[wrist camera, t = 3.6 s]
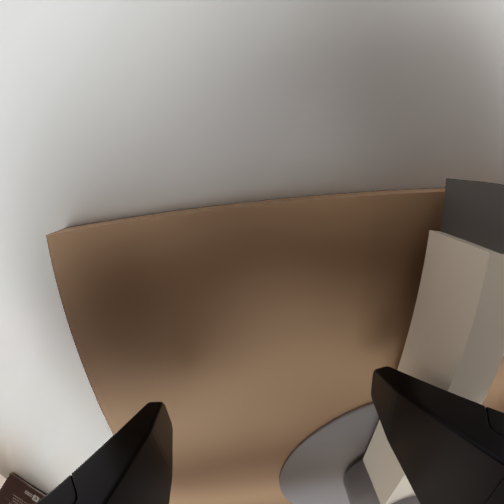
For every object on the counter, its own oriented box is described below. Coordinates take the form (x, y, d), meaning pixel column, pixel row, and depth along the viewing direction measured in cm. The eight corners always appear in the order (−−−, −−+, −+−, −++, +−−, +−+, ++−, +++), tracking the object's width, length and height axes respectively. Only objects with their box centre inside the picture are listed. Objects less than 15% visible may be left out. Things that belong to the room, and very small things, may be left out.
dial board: (485, 469, 14) (493, 480, 13) (190, 538, 14) (189, 554, 13) (563, 182, 9) (583, 185, 8) (63, 220, 9) (40, 228, 8)
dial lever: (392, 482, 11) (414, 532, 8) (336, 493, 11) (352, 549, 7) (489, 188, 8) (566, 202, 5) (421, 173, 8) (503, 180, 4)
